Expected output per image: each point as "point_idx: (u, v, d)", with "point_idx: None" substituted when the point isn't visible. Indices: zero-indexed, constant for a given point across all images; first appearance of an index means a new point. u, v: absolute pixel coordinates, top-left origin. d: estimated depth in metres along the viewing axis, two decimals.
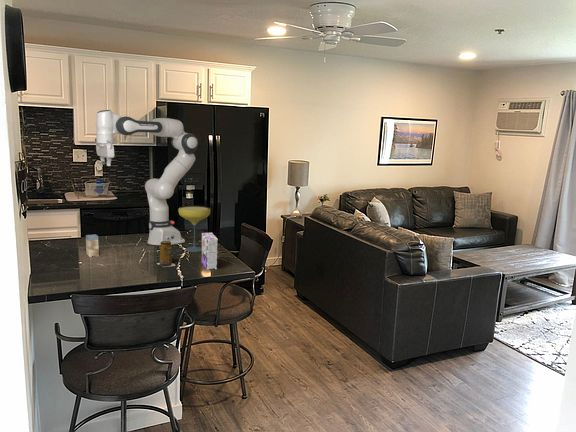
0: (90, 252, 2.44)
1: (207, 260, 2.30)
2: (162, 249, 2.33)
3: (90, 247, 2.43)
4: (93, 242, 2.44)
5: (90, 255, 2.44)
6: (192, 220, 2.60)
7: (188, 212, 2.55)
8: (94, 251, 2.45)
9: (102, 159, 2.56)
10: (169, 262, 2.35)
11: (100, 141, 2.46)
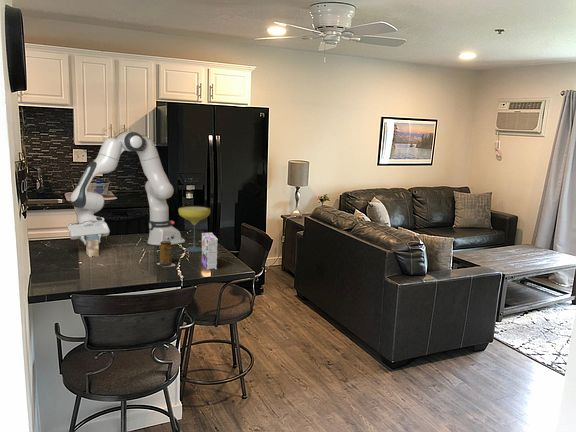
0: (90, 252, 2.44)
1: (207, 260, 2.30)
2: (162, 249, 2.33)
3: (90, 247, 2.43)
4: (93, 242, 2.44)
5: (90, 255, 2.44)
6: (192, 220, 2.60)
7: (188, 212, 2.55)
8: (94, 251, 2.45)
9: None
10: (169, 262, 2.35)
11: None
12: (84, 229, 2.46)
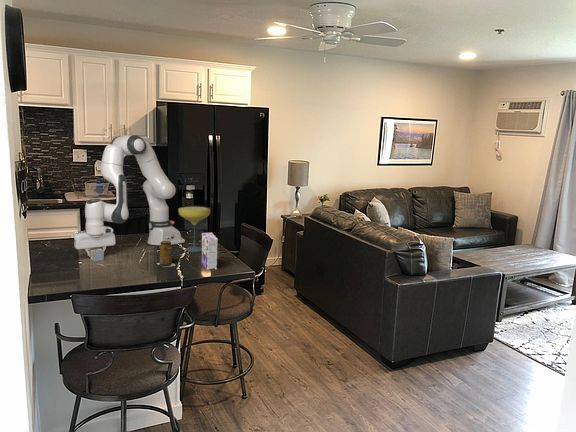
0: None
1: (207, 260, 2.30)
2: (162, 249, 2.33)
3: None
4: None
5: None
6: (192, 220, 2.60)
7: (188, 212, 2.55)
8: None
9: (102, 249, 2.44)
10: (169, 262, 2.35)
11: None
12: (90, 240, 2.38)
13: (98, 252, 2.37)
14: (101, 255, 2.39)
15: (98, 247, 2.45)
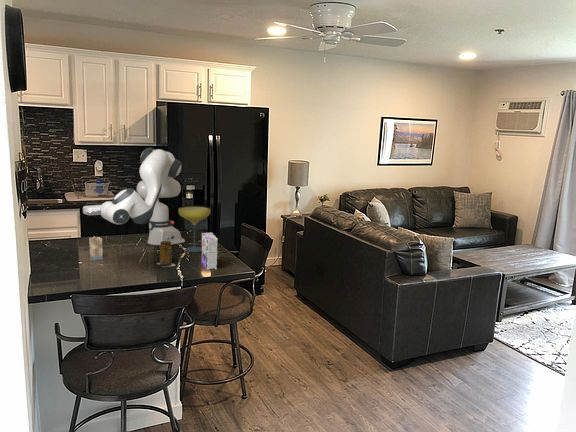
0: None
1: (207, 260, 2.30)
2: (162, 249, 2.33)
3: None
4: None
5: None
6: (192, 220, 2.60)
7: (188, 212, 2.55)
8: None
9: None
10: (169, 262, 2.35)
11: (103, 204, 2.14)
12: None
13: None
14: None
15: (101, 244, 2.40)
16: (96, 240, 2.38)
